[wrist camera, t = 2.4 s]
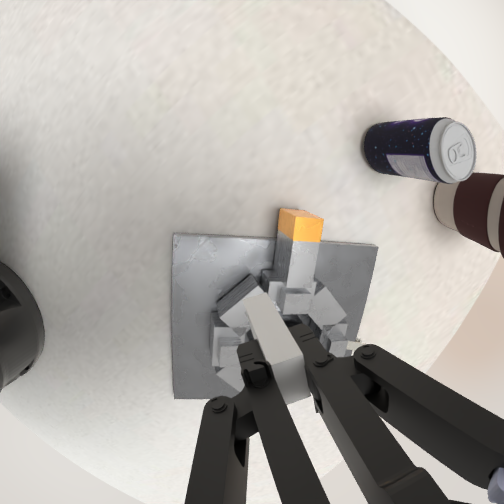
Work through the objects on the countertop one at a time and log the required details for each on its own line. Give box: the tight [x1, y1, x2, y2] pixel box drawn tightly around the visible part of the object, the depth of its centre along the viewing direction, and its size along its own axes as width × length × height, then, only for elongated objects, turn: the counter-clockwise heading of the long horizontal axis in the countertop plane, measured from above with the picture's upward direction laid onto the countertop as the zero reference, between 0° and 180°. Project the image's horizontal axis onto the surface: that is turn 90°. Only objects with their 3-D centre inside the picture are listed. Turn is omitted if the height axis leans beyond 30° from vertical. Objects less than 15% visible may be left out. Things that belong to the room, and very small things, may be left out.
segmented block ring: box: [209, 208, 349, 392], centre depth 30 cm, size 14×20×5 cm
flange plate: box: [172, 233, 378, 399], centre depth 30 cm, size 24×23×8 cm
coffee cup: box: [434, 173, 504, 258], centre depth 28 cm, size 10×10×15 cm
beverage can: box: [364, 117, 476, 184], centre depth 25 cm, size 6×6×12 cm
